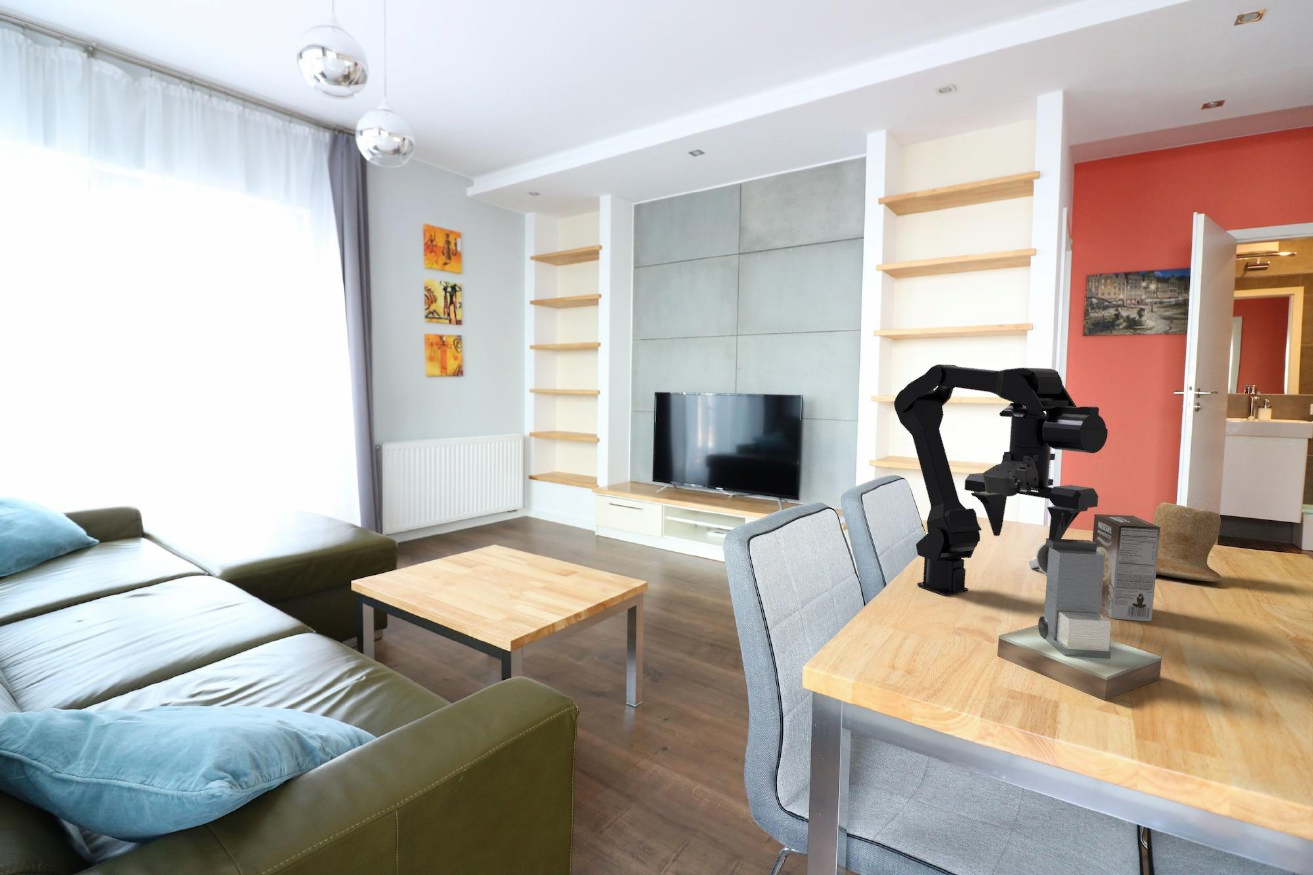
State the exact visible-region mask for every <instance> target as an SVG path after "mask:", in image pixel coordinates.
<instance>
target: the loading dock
mask: <svg viewBox="0 0 1313 875" xmlns="http://www.w3.org/2000/svg"><path fill="white" fill-rule="evenodd" d="M997 643H998V644H997V657H1000V658H1001V659H1004V660H1006V661H1010V662H1011V663H1014V664H1016V665H1019V666H1021V667H1024V668H1026V669H1027V670H1031V671H1033V672H1036V673H1038V674H1041V675H1042V676H1045V677H1048V678H1049V679H1052V680H1055V681H1057V682H1060V683H1062V684H1065V685H1066V686H1069V687H1071V688H1074V689H1077V690H1078V691H1081V692H1083V693H1086V694H1088V695H1091V696H1093V697H1096V698H1098V699H1101V700H1103V701H1108V700H1109V699H1113V698H1115V697H1117V696H1119V695H1122V694H1125V693H1127V692H1130V691H1132V690H1133V691H1134V690H1135V689H1138V688H1140V687H1143V686H1145V685H1147V684H1150V683H1153V682H1156V681H1158V680H1160V679H1161V671H1162V670H1161V669H1162V668H1161V667H1162V660H1163V659H1162V656H1159V655H1156V654H1154V653H1151V652H1149V651H1145V650H1142V649H1139V648H1135V647H1133V646H1130V645H1128V644H1123V643H1121V642H1118V641H1115V640H1113V639H1109V650H1110V651H1111V657H1110V659H1104V658H1089V657H1074V656H1064V655H1063V654H1061V653H1060V652H1059V651H1058V650H1057V649H1055V648H1054V647H1053V646H1052V645H1051V644H1049V643H1048V642H1047V641H1046V639H1044V638H1042V637H1041V635H1040V633H1039V629H1038V624H1037V625H1033V626H1029V627H1028V626H1027V627H1024V628H1020V629H1018V630H1015V631H1010V632H1006V633H1002V634H999V635H998V642H997Z"/></svg>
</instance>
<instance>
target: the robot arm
mask: <svg viewBox="0 0 1313 875" xmlns="http://www.w3.org/2000/svg"><path fill="white" fill-rule="evenodd" d="M955 388H959V389H965V390H971V391H979V392H987V393H991V394H995V395H996V396H998V397H999V398H1000V399H1003V400H1004V401H1005V400H1006V401H1009V402H1011V403H1010V404H1008V405H1007V407H1005V408H1004V409H1003V410H1002V411H1000V412H999V413H998V414H999V416H1000V417H1002V418H1003V417H1004V418H1010V432H1009V434H1010V435H1009V446H1008V447H1009V449H1008V451H1003V455H1002V458H1001V459H1002V460H1001V462H1000V463H998V464H996V465H993V466H991V468H989V469H987V470H985V471H984V472H978V473H969V474H968V476H967V477H966V478H965V479H964V490H965V491H969V492H971V493H970V494H971V496H972V497H975V498H977V500H978V501H979V502H980V503H981V504H982V505H983V508H984V510H985V513H986V516H987V518H988V521H989V525H990V528H991V530H992V535H993V536H994V537H998V536H999V537H1000V535H1001V532H1002V528H1003V525H1004V524H1003V523H1004V519H1005V518H1004V517H1005V510H1006V505H1007V498H1008V497H1013V496H1016V495H1017V494H1019V495H1025V496H1029V497H1034V498H1041V499H1047V500H1049V501H1050V503H1051V504H1052V506H1047V507H1046V508H1047V510H1048V513H1049V515H1050V522H1049V532H1048V538H1051V539H1063V537H1064V535H1065V533H1066V532H1067V530H1068V529H1069V527H1070V526H1071V524H1072V523H1073V522H1074V521H1075V519H1077V517H1078V515H1079V514H1081V513H1082V512H1088V509H1090V508H1091V509H1092V508H1097V507H1098V504H1099V503H1098V502H1099V494H1098V493H1097V492H1096V491H1097V490H1096V489H1094V488H1093V487H1087V486H1080V485H1074V484H1068V485H1066V484H1065V485H1059V486H1058V485H1057V486H1053V485H1054V479H1053V478H1049V475H1050V462H1051V461H1055V460H1056V453H1054V452H1053V453H1052V452H1051V449H1053V450H1060V451H1067V452H1068V451H1069V452H1077V453H1085V454H1095V453H1099V451H1101V450H1102V449H1103V447H1104V446H1105V445H1106V443H1107V440H1108V435H1109V433H1108V432H1109V430H1108V428H1107V425H1106V422H1105V420H1104V419H1103V417H1102V416H1101V415H1100V413H1099V412H1100V408H1099V406H1079V407H1077V404H1076V403H1075V402H1074V401H1073V399H1072V397H1071V395H1070V394H1069V392H1068V391H1067V389H1066V388H1065V386H1064V384H1063V380H1062V377H1061V375H1060V374H1059V371H1057V370H1055V369H1052V368H1046V367H1045V368H1042V367H1041V368H1039V367H1038V368H1037V367H1016V368H1005V369H1001V370H993V369H985V368H974V367H966V366H965V367H963V366H958V365H956V364H942V363H941V364H934V365H933V366H932V367H930V368H929V369H928V370H927V371H926V372H925V373H924V374H923V375H921V376H919V377H917V378H916V379H914V380H913V381H910V382H909V383H908V384H907V385H906V386H905V387H904V388H903V389H901V390H900V391H899V392H898V393H897V396H896V397H895V399H894V401H893V405H894V410H895V413H896V415H897V417H898V420H899V423H900V424H901V425H902V426H903V427H904V428H905V430H906V431H908V433H909V434H910V435H911V437H912V438H913V439H912V440H913V443H914V447H915V451H916V455H917V459H918V461H919V462H918V463H919V465H920V466H919V467H920V470H921V473H922V477H923V482H924V484H925V489H926V492H927V493H926V494H927V498H928V500H929V504H930V510H929V513H928V516H927V520H926V527H927V534H925V535H924V536H923V537H922V538H921V539H920V540H919V541H917V542H916V543H915V547H916V552H917V556H919V557H922V558H924V561H923V562H924V563H923V580H922V581H921V582H920V581H919V582H917V583H916V584H917V587H921V588H923V589H925V590H928V591H932V592H934V593H937V594H940V595H941V596H942V595H943V596H951V595H955V594H960V593H966V592H968V591H969V588H968V587H966V572H967V571H966V568H965V559H971V558H972V556H973V554H974V551H975V549H976V548H977V546H978V544H979V542H980V541H981V534H980V532H981V531H982V527H981V525H980V524H979V521H978V517H977V512H976V510H975V509H974V508H966V507H965V506H964V505H963V504H962V503H961V502H960V501H961V500H960V499H959V495H958V492H957V489H956V485H955V482H954V477H953V473H952V471H951V470H952V469H951V468H950V467H951V465H950V463H949V460H948V456H947V453H946V449H945V446H944V443H943V438H942V435H941V432H940V427H941V424H942V422H943V419H944V410H943V406H944V405H945V404H946V403H947V402H949V400H950V399H951V397H952V394H953V391H954V389H955ZM1052 486H1053V487H1052ZM964 558H965V559H964Z"/></svg>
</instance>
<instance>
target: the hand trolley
mask: <svg viewBox="0 0 1313 875" xmlns="http://www.w3.org/2000/svg"><path fill="white" fill-rule="evenodd" d="M1045 543H1046V546H1048V547H1049V555H1048V569H1047V575H1046V585H1045V596H1044V597H1045V598H1044V609H1043V610H1044V612H1043V615H1042V616H1040V617H1039V618H1038V622H1037V625H1038V629H1039V633H1040V635H1041V637H1042V638H1044V639H1046V641H1047V642H1048V643H1049V644H1051V645H1052V646H1053V647H1054V648H1055V649H1057V650H1058V651H1059V652H1060V653H1061V654H1063V655H1064V656H1074V657H1089V658H1104V659H1110V657H1111V651H1110V650H1109V640H1111V639H1110V638H1111V624H1112V621H1111V620H1110V619H1108V618H1106V617H1105V616H1103V615H1102V614H1101V612H1102V611H1101V598H1102V586H1103V574H1104V561H1105V555H1104V554H1102V553H1100V552H1098V551H1097V544H1096V543H1094V542H1092V540H1089V539H1072V538H1071V539H1069V538H1061V539H1051V538H1049V537H1047V538H1045Z"/></svg>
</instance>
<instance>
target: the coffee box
mask: <svg viewBox="0 0 1313 875" xmlns="http://www.w3.org/2000/svg"><path fill="white" fill-rule="evenodd" d="M1093 516H1094V517H1093V529H1092V540H1091V541H1092V542H1094V543H1096V544H1097V551H1098V552H1100V553H1102V554H1104V555H1105V561H1104V574H1103V586H1102V598H1101V611H1100V612H1102V613H1104V614H1105V615H1106V616H1107V617H1109V618H1110V619H1112V620H1113V619H1114V620H1125V621H1137V622H1138V621H1139V622H1152V621H1153V620H1152V619H1153V609H1154V600H1155V599H1154V598H1155V589H1156V588H1155V587H1156V576H1157V575H1156V569H1157V559H1158V549H1159V539H1160V529H1161V527H1158V526H1156V525H1154V523H1151V522H1149V521H1146V520H1145V519H1142V518H1139V517H1137V516H1135V515H1128V514H1127V515H1125V514H1123V515H1122V514H1102V513H1100V514H1099V513H1098V514H1097V513H1095V514H1094V515H1093Z"/></svg>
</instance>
